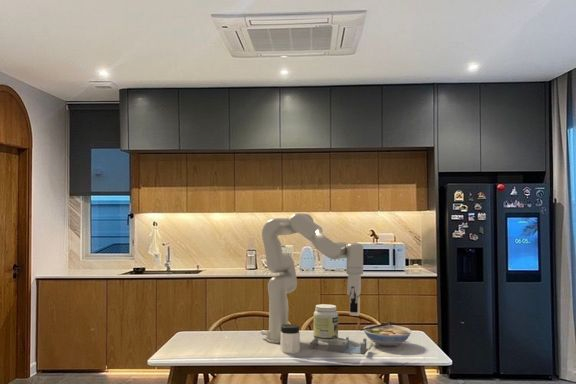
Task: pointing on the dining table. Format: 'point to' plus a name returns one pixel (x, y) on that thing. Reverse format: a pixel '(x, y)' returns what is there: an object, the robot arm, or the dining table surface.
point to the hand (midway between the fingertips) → (354, 310)
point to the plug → (357, 308)
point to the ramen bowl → (387, 334)
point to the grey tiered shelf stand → (338, 346)
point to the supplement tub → (325, 322)
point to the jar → (290, 338)
